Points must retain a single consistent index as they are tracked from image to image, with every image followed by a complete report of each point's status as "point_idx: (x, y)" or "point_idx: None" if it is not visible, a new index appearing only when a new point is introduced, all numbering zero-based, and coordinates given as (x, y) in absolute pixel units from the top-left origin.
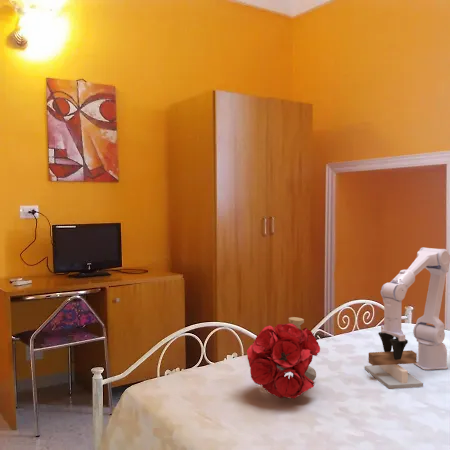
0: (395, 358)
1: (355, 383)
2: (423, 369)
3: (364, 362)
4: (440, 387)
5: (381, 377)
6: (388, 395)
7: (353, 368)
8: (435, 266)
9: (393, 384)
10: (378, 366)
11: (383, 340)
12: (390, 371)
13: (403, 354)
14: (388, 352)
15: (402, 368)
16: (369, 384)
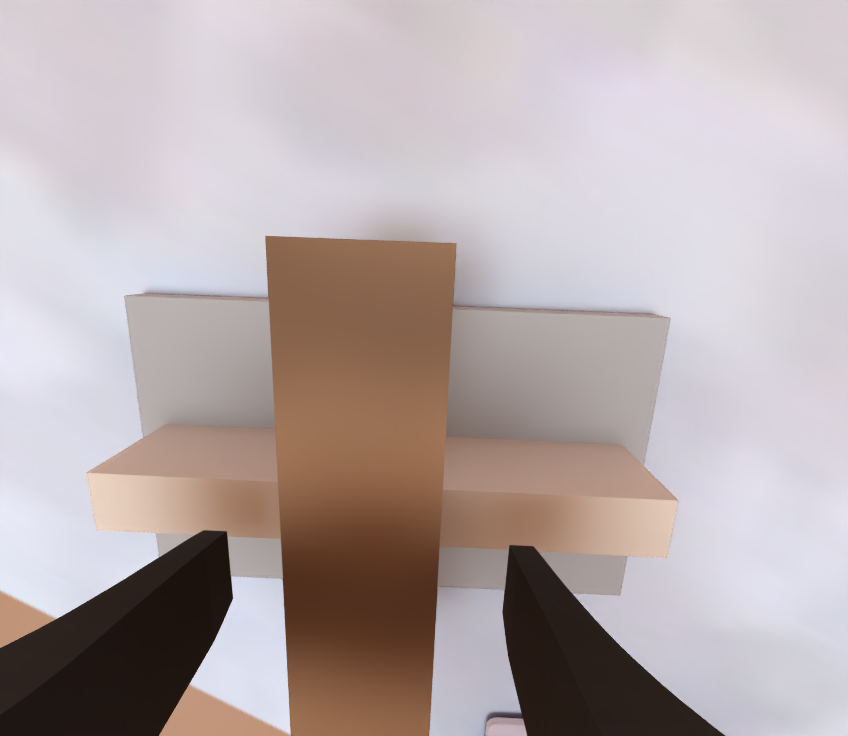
0: (188, 542)
1: (302, 39)
2: (493, 718)
3: (820, 396)
4: None
5: None
6: (3, 218)
7: (706, 214)
8: None
9: (140, 343)
10: (607, 436)
11: (580, 713)
12: None
13: (293, 700)
14: (391, 562)
15: (182, 523)
16: (262, 172)
